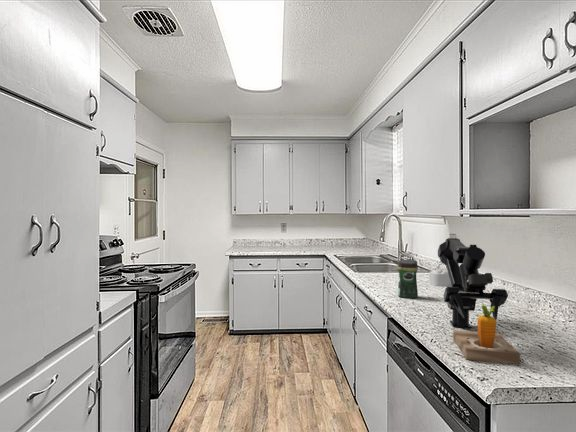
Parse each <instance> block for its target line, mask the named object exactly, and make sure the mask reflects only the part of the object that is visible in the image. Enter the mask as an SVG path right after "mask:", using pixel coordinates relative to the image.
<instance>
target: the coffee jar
mask: <svg viewBox="0 0 576 432" xmlns="http://www.w3.org/2000/svg"><path fill="white" fill-rule="evenodd" d="M418 268H419V267H418V262H417V260H416V259H399V260H398V264H397V270H398V285H397V296H398V297H400V298H403V299H415V298H418V296H419V293H418V282H417V273H418V270H419V269H418Z"/></svg>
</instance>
